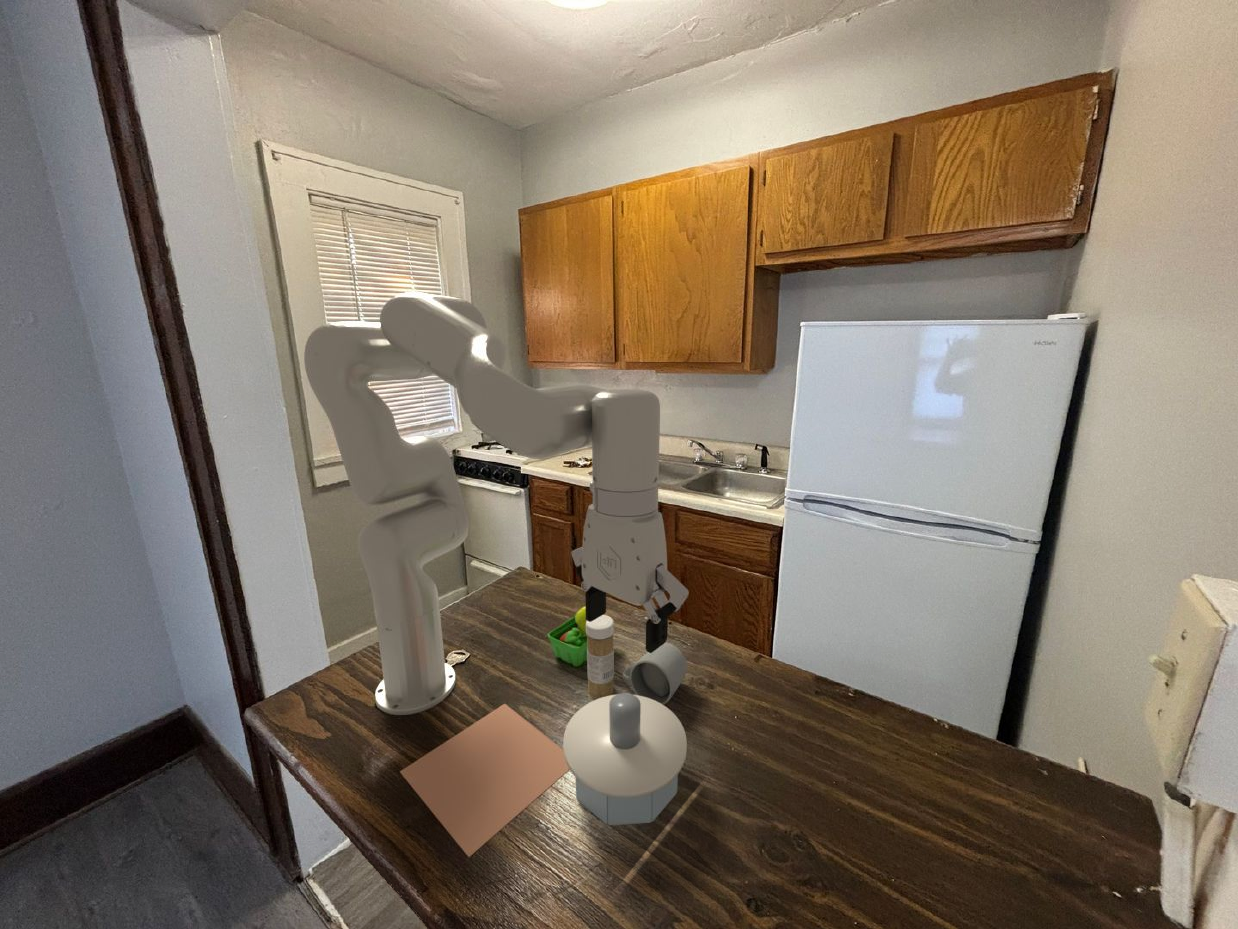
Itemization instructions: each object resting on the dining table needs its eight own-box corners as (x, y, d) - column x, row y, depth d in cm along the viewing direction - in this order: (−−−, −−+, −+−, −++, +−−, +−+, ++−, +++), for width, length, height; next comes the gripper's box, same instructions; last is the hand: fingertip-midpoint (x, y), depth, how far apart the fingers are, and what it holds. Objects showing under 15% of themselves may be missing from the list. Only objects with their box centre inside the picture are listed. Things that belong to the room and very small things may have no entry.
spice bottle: (607, 680, 83) (606, 611, 80) (618, 697, 79) (618, 624, 76) (583, 688, 81) (581, 617, 78) (593, 705, 77) (592, 631, 74)
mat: (400, 774, 64) (399, 771, 64) (504, 706, 77) (504, 703, 77) (469, 860, 53) (468, 857, 53) (578, 764, 66) (578, 761, 66)
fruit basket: (585, 631, 98) (584, 580, 95) (620, 646, 93) (620, 593, 90) (546, 659, 89) (544, 604, 86) (582, 677, 84) (581, 620, 81)
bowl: (556, 783, 63) (554, 745, 62) (620, 727, 72) (620, 693, 71) (631, 849, 55) (632, 807, 53) (693, 775, 64) (694, 738, 63)
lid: (537, 747, 61) (535, 708, 60) (618, 683, 73) (618, 650, 72) (633, 825, 51) (633, 781, 50) (709, 737, 63) (711, 699, 62)
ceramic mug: (690, 683, 82) (690, 643, 81) (671, 713, 75) (671, 670, 74) (635, 664, 87) (635, 627, 86) (613, 691, 80) (612, 651, 79)
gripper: (550, 491, 57) (554, 618, 61) (667, 525, 46) (663, 677, 50) (594, 479, 63) (595, 596, 67) (708, 506, 52) (701, 645, 56)
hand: (624, 631), depth 59 cm, fingers open, 9 cm apart
